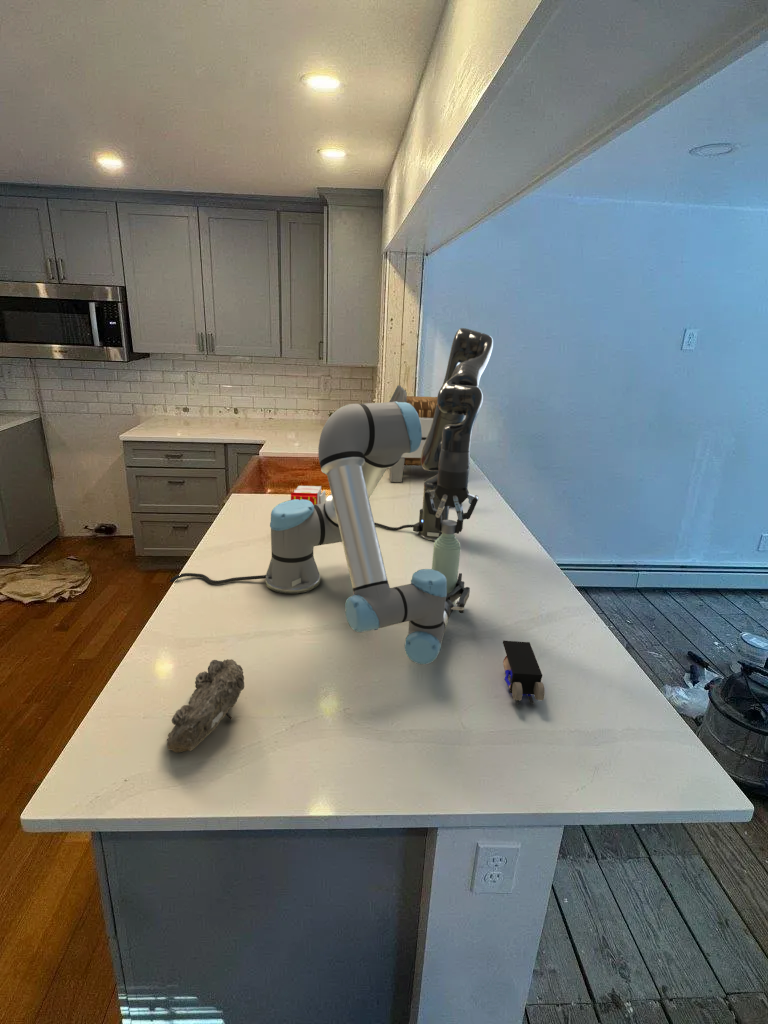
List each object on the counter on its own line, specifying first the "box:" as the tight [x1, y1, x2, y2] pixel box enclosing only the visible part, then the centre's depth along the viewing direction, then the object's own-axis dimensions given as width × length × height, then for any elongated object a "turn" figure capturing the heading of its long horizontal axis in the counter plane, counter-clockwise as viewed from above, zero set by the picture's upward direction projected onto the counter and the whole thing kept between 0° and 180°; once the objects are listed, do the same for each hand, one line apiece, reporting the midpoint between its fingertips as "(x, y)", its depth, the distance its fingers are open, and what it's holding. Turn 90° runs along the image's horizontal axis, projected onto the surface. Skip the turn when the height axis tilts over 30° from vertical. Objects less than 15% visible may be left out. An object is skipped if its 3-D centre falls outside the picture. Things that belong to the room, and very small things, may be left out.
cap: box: [440, 519, 457, 535], centre depth 145 cm, size 4×4×2 cm
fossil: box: [166, 658, 245, 754], centre depth 106 cm, size 22×10×15 cm
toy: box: [290, 485, 327, 505], centre depth 209 cm, size 12×13×30 cm
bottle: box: [431, 533, 462, 605], centre depth 149 cm, size 7×7×23 cm
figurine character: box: [502, 639, 546, 706], centre depth 119 cm, size 7×8×15 cm
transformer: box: [388, 384, 465, 483], centre depth 268 cm, size 34×33×41 cm
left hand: (446, 575), depth 155 cm, fingers closed on bottle, 7 cm apart
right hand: (448, 531), depth 145 cm, fingers closed on cap, 4 cm apart
